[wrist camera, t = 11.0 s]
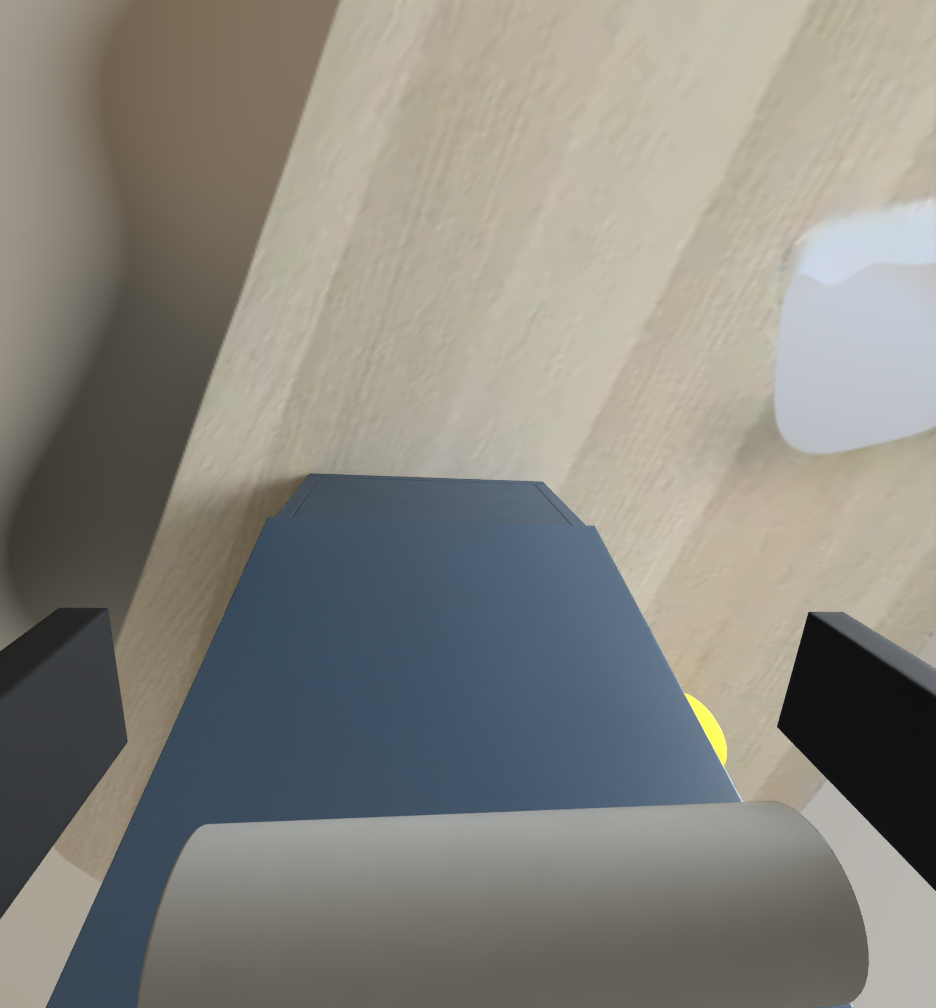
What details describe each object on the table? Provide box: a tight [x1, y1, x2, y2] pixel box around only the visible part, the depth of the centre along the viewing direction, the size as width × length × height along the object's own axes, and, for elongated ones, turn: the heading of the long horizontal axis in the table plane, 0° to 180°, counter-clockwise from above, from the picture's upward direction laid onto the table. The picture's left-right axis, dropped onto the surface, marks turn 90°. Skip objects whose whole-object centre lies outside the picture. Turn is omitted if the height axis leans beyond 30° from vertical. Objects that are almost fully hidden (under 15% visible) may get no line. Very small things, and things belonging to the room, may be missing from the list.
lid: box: [46, 517, 869, 1008], centre depth 15 cm, size 20×16×8 cm
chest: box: [275, 474, 586, 526], centre depth 33 cm, size 20×16×10 cm
